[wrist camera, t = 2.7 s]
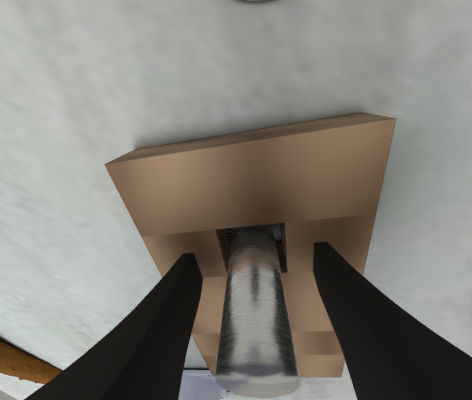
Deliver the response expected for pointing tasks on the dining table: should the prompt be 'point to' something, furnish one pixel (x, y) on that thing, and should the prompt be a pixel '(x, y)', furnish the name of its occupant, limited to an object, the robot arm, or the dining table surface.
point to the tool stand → (263, 213)
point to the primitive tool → (25, 365)
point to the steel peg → (256, 320)
